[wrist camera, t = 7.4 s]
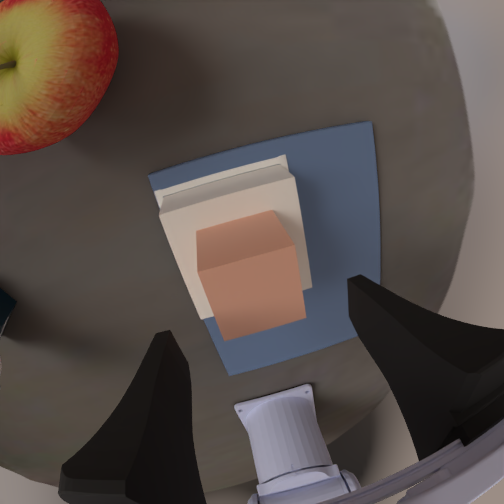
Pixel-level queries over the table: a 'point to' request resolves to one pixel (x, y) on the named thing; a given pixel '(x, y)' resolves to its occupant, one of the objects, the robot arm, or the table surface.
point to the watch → (5, 311)
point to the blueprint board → (315, 229)
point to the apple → (51, 69)
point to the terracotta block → (250, 274)
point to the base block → (227, 209)
